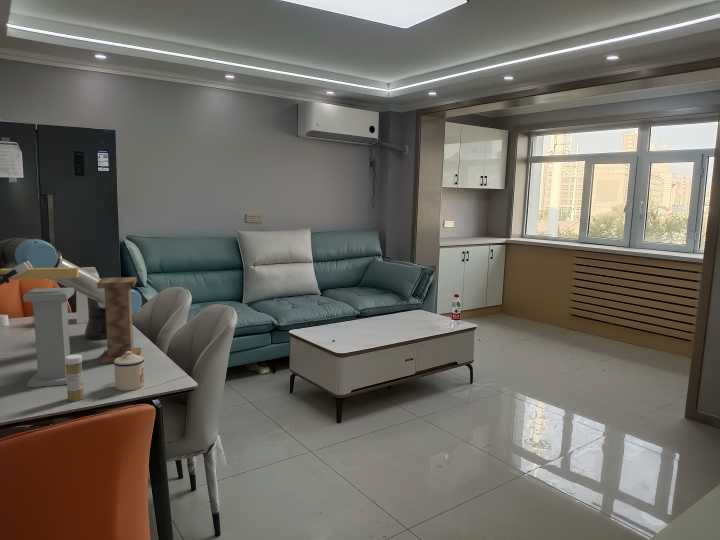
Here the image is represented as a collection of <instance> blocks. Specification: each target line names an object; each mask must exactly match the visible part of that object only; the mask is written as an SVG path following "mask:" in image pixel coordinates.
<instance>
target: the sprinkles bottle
mask: <svg viewBox="0 0 720 540" xmlns="http://www.w3.org/2000/svg"><path fill="white" fill-rule="evenodd" d="M82 363H83V356H82V354H70V355H69V356H66V357H65V364H66V378H67V380H66V382H67V385H66V389H67V398H66V399H67V400H68V401H70V402H77V401H81V400H83V399H84V398H85V395H84V376H83V374H84V373H83V364H82Z"/></svg>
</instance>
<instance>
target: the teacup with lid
mask: <svg viewBox="0 0 720 540" xmlns="http://www.w3.org/2000/svg"><path fill="white" fill-rule="evenodd" d="M144 362H145V359H144V357H143V356H141V355H140V356H139V355H135V354H132V352H131V351H127V352H125V355H123V356H121V357H119V358H116V359H115V360H114V363H113V366H114V381H115V383H114V384H115V389H116V390H118V391H122V392H123V391H125V392H128V391H129V392H130V391H134V390H139V389H141V388H143V387H144V386H145V368H144V367H145V366H144Z"/></svg>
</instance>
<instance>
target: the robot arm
mask: <svg viewBox="0 0 720 540" xmlns="http://www.w3.org/2000/svg"><path fill="white" fill-rule="evenodd" d="M70 267H78V269H79V277H77V278H49V279H50V280H52V281H55V282H56V283H58V284H60V285H63V286H65V287H66V288H73V287H74V292H76V291H77V292H79V293H81V294H83V295H85V296H87V299H88V316H89V320H88V323H86V327H85V331H84V337H85V338H86V339H89V340H107V329H106V309H105V290H104V288H100V289H97V283H98V282H99V281H100V280H101V279H102V278H100V276H99V277H97V276H95V275H93V274H91V273H89V272H87V271H85V270H83V269H82V268H83V267H79V266H78V265H76V264H74V263H72V262H70V261H68V260H67V259H64V258H63V257H62V253H61V252H60V250H56V248H55V247H54V246H53V245H52V244H51V243H49V242H48V241H45V240H43V239H38V238H23V237H13V238H8V239H5V240H1V241H0V269H10V270H9V271H7V272H5V275H4V274H1V275H0V286H1V285H3V284H5V283H6V284H9V283H11V280H14V279H13V278H14V277H16V276H18V275H20V274H22V273H24V272H26V271H27V270H29V268H70ZM39 279H41V280H46V279H47V278H39ZM131 304H132V317H134V316H136V315H137V314H138V313H139V311H140V310H141V308H142V304H143V300H142V295H141V293H139V291H137V290H135V289H132V288H131Z"/></svg>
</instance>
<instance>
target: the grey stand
mask: <svg viewBox="0 0 720 540" xmlns="http://www.w3.org/2000/svg"><path fill="white" fill-rule="evenodd" d="M74 294H75V290H74V287H73V288H69V287H51V288H50V287H48V288H46V287H45V288H33V289H31V290H29V291H28V292H26V293H24V294H23V296H22V297H23V298H22V299H23V302H26V303H27V302H32V308H33V309H32V310H33V324H34V338H35V349H36V350H35V351H36V352H35V353H36V362H37V363H36V364H37V371H36V373H34V374H33V376H32V377H31V378H30V380H29V381H28V382H27V385H26V386H27V388H28V387H33V388H42V387H43V386H46V387H55V386H54V385H58V386H66V385H65V384H67V382H66V380H67V378H66V364H65V357H66V356H69V355H71V343H70V330H69V312H68V299H70V298H71V297H72V296H73V295H74ZM41 386H42V387H41ZM43 388H44V387H43Z"/></svg>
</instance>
